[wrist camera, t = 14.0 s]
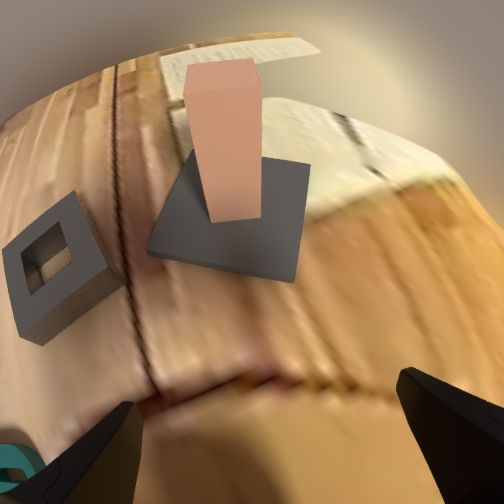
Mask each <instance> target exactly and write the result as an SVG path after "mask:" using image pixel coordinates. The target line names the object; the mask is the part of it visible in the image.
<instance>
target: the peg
mask: <svg viewBox="0 0 504 504" xmlns="http://www.w3.org/2000/svg"><path fill="white" fill-rule="evenodd" d="M183 97H184V102H185V107H186V112H187V117H188V121H189V126H190V131H191V136H192V140H193V145H194V150H195V154H196V159H197V164H198V168H199V173H200V177H201V181H202V186H203V190H204V195H205V199H206V203H207V207H208V212H209V216H210V220H211V223H216V222H225V221H234V220H244V219H253V218H261V151H262V85H261V82H260V79H259V76H258V73H257V70H256V67H255V64H254V61H253V58H251V59H236V60H225V61H215V62H207V63H199V64H192V65H188V67H187V73H186V79H185V85H184V91H183Z"/></svg>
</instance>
